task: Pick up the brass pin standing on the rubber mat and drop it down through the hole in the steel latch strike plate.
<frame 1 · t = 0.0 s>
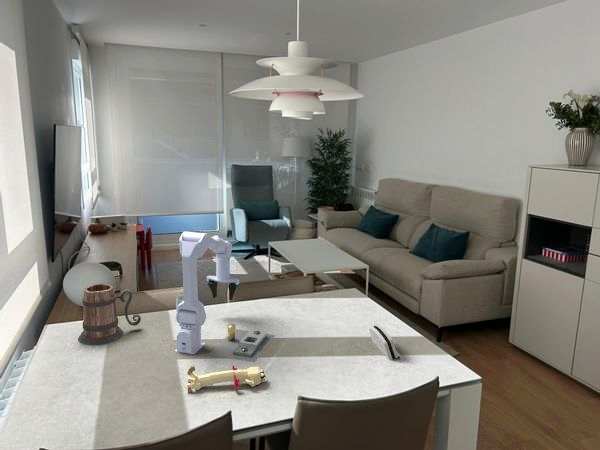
hand: (223, 298, 195), 10 cm above the table, tool pointing down, fingers open, 7 cm apart
cup: (185, 319, 197), on the table
pin: (231, 340, 177), resting on mat
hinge: (383, 350, 173), on the table
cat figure: (227, 386, 145), on the table
latch strike plate: (251, 346, 173), resting on mat
tankard: (110, 335, 180), on the table
mat: (243, 345, 173), on the table
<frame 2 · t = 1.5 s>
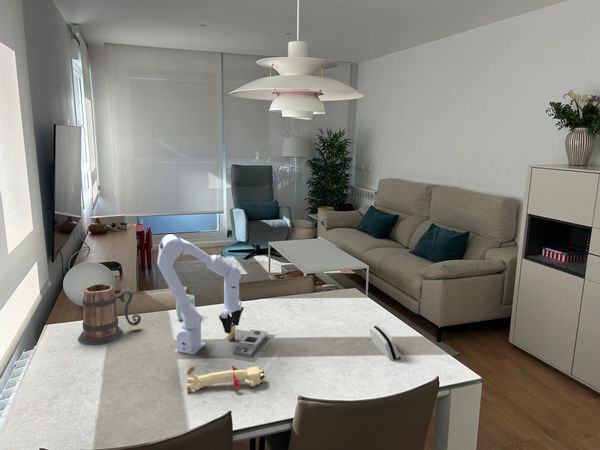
hand: (231, 328, 176), 5 cm above the table, tool pointing down, fingers open, 7 cm apart
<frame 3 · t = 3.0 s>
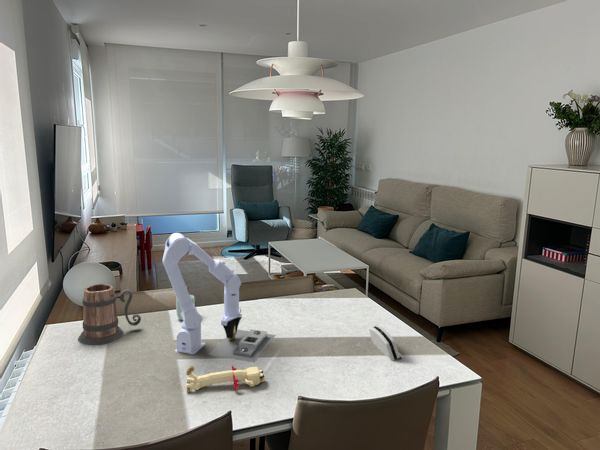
hand: (231, 335, 176), 2 cm above the table, tool pointing down, fingers closed on pin, 3 cm apart
pin: (231, 340, 177), resting on mat, touching gripper
everything else where it was.
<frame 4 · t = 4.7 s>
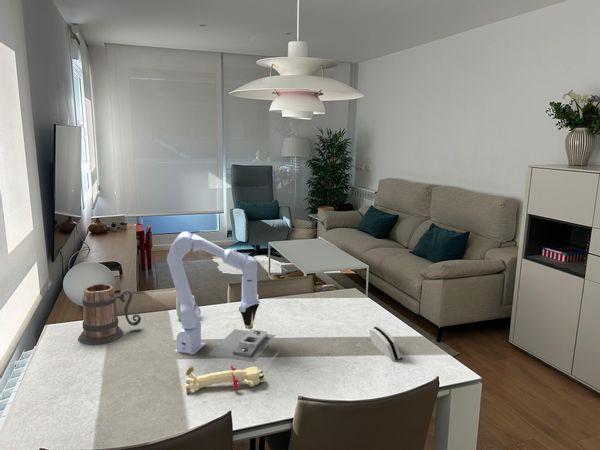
hand: (249, 323, 172), 9 cm above the table, tool pointing down, fingers closed on pin, 3 cm apart
pin: (249, 327, 172), point 8 cm above the table, touching gripper
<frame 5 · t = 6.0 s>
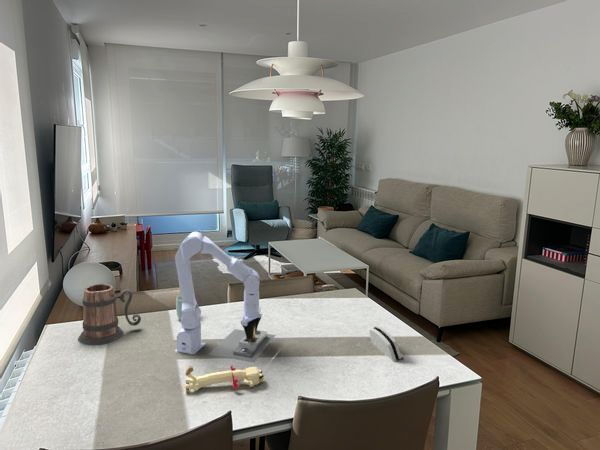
hand: (251, 336, 172), 4 cm above the table, tool pointing down, fingers closed on pin, 3 cm apart
pin: (251, 340, 172), point 2 cm above the table, touching gripper
when the fingers open (4 cm above the table, at t = 7.2 s): pin drops 1 cm, resting on mat.
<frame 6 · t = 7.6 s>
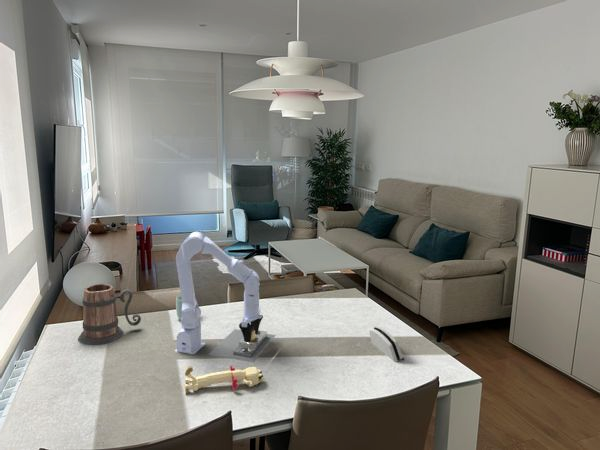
hand: (251, 337, 172), 4 cm above the table, tool pointing down, fingers open, 7 cm apart
pin: (251, 345, 173), point 1 cm above the table, touching mat
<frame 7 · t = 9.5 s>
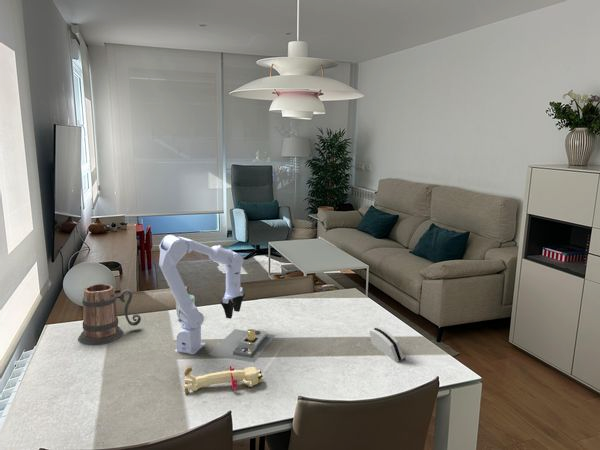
hand: (233, 314, 180), 9 cm above the table, tool pointing down, fingers open, 7 cm apart
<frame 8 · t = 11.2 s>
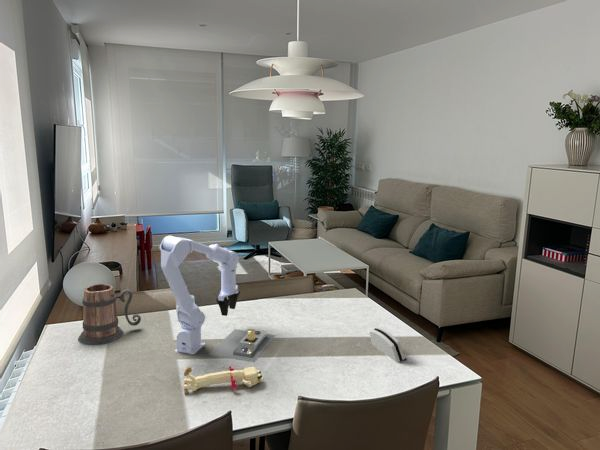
hand: (228, 311, 182), 9 cm above the table, tool pointing down, fingers open, 7 cm apart
at the end: pin 0.0 cm off-centre on the latch strike plate, point 0.5 cm above the latch strike plate's base; pin tilted 0°; the gripper is holding nothing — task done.
